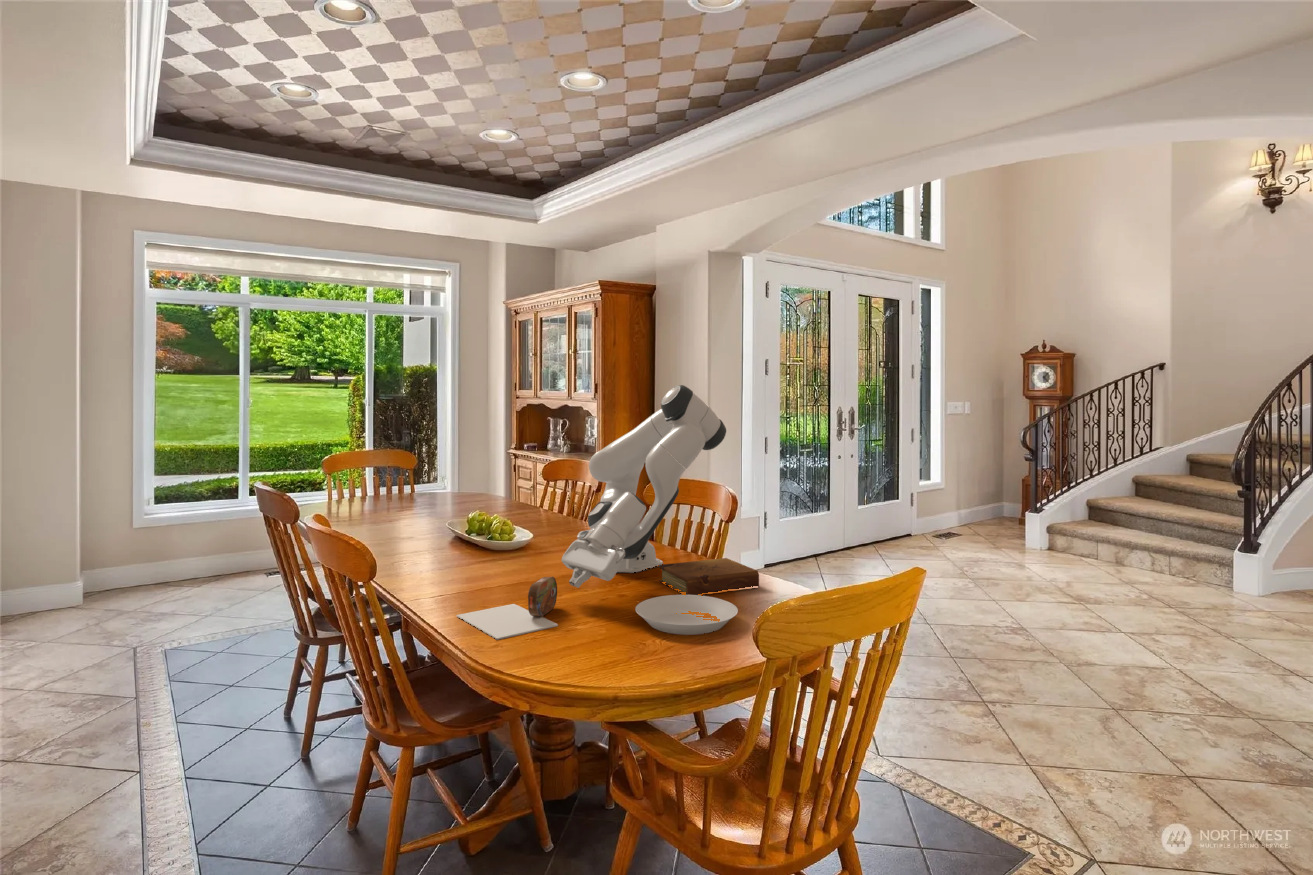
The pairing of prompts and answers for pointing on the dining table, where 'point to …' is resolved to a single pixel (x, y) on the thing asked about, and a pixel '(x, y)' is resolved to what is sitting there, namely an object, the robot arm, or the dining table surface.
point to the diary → (708, 576)
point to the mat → (506, 621)
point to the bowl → (666, 620)
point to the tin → (542, 596)
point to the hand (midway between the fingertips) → (573, 585)
